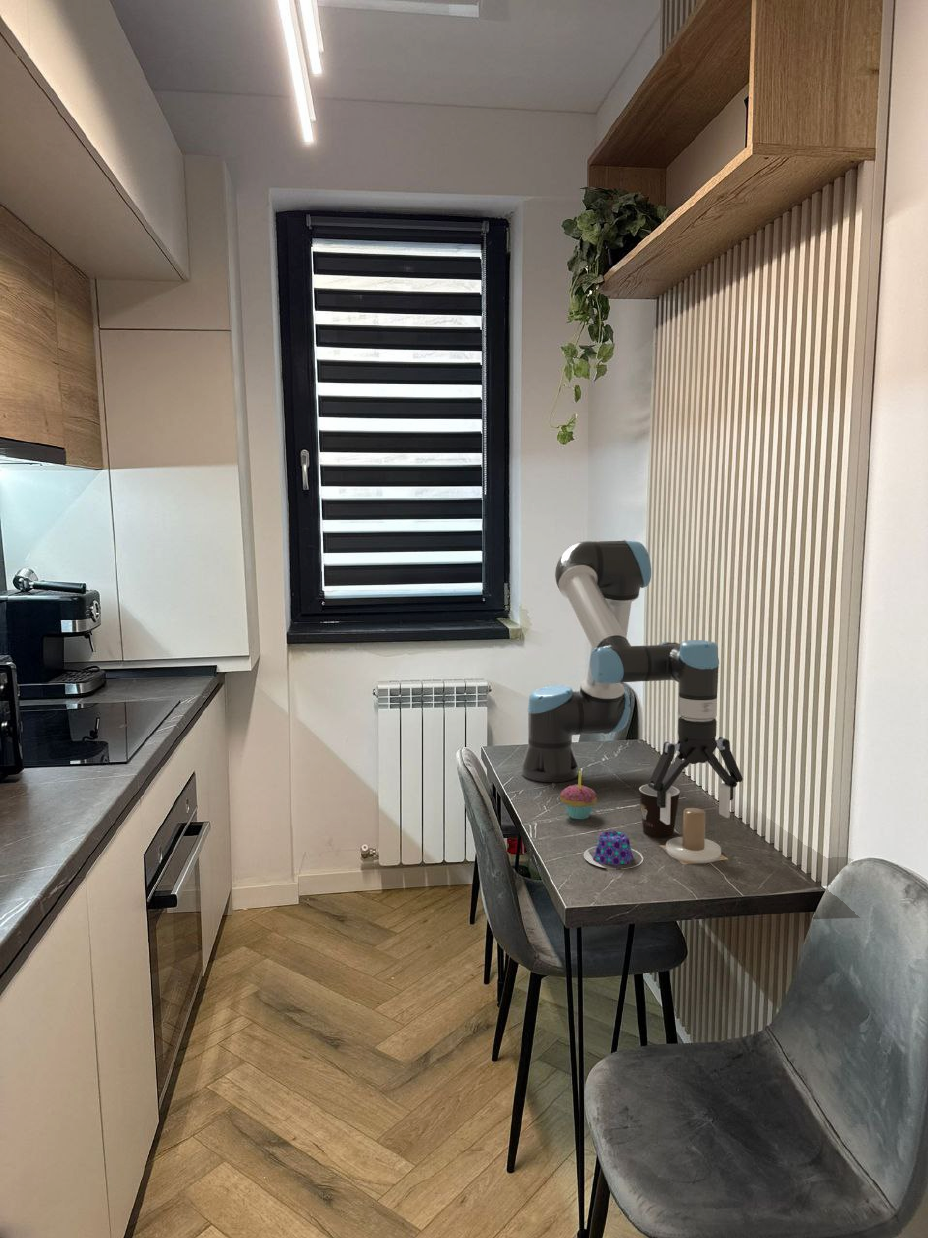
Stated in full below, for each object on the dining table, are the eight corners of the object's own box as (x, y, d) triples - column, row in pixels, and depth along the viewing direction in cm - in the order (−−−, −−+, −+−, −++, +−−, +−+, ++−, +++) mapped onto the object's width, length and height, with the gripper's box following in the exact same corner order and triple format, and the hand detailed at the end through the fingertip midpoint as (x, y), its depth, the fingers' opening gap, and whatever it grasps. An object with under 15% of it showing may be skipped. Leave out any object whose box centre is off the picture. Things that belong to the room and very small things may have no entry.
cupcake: (600, 822, 192) (601, 771, 190) (563, 823, 192) (563, 771, 190) (592, 808, 200) (593, 760, 199) (557, 809, 200) (557, 760, 198)
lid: (656, 845, 178) (657, 805, 177) (702, 839, 181) (703, 800, 179) (683, 866, 167) (684, 824, 166) (731, 859, 170) (733, 818, 169)
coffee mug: (679, 843, 180) (680, 798, 178) (638, 840, 181) (639, 795, 180) (676, 823, 191) (678, 780, 190) (638, 821, 193) (639, 778, 191)
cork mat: (659, 847, 177) (659, 845, 177) (701, 842, 180) (701, 840, 180) (684, 866, 168) (684, 864, 168) (728, 860, 170) (728, 859, 170)
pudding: (614, 878, 164) (614, 852, 163) (571, 857, 173) (571, 833, 172) (655, 862, 171) (656, 837, 170) (612, 844, 180) (612, 820, 180)
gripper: (650, 726, 163) (648, 831, 166) (762, 717, 170) (758, 819, 172) (632, 717, 170) (631, 819, 173) (740, 709, 177) (737, 807, 180)
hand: (694, 819), depth 173 cm, fingers open, 13 cm apart
